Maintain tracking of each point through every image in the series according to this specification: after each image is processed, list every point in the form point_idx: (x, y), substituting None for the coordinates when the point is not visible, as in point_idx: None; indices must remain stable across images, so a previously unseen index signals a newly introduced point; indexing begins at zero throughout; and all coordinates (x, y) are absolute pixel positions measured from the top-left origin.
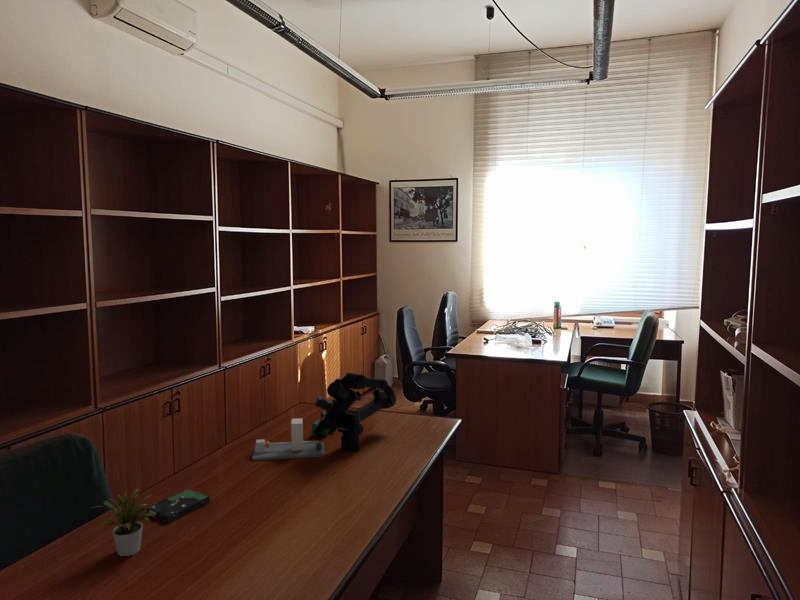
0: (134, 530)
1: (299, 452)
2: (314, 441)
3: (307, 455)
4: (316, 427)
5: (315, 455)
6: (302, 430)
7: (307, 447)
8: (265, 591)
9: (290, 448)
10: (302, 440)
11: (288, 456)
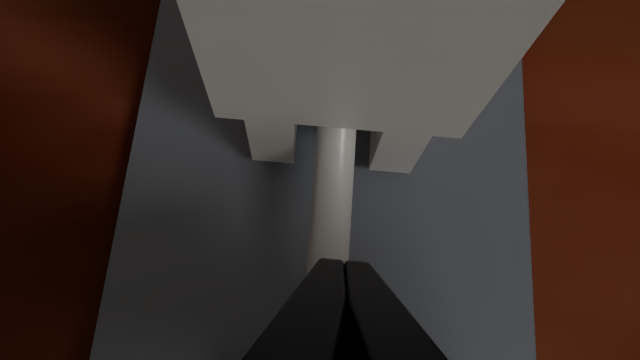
0: None
1: (227, 126)
2: None
3: (119, 213)
4: (258, 338)
5: (103, 316)
6: (275, 12)
7: (374, 231)
8: None
9: None
10: (208, 94)
11: (159, 14)
